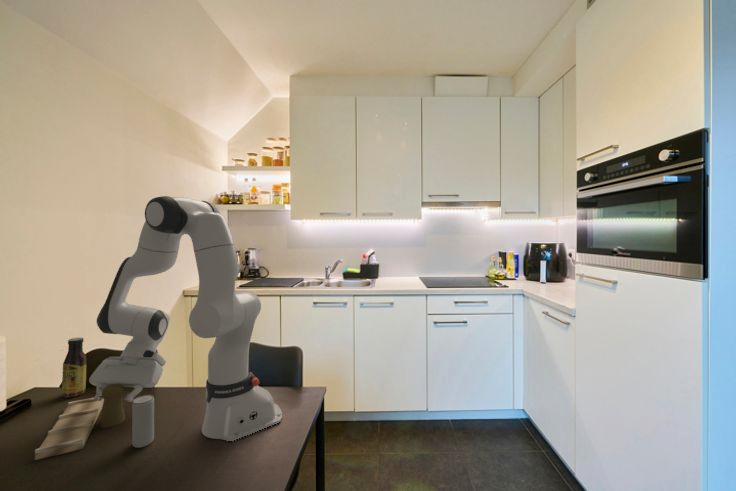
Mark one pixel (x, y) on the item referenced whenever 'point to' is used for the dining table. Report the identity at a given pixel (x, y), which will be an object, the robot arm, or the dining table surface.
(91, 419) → the ledge board
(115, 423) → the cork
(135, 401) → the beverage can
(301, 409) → the dining table surface
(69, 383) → the sauce bottle
